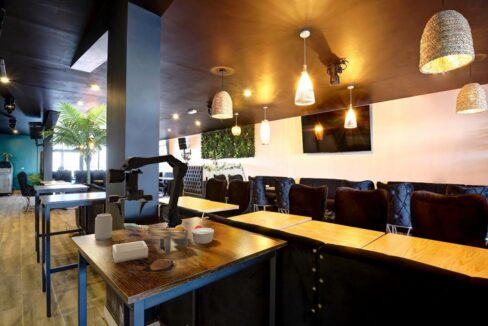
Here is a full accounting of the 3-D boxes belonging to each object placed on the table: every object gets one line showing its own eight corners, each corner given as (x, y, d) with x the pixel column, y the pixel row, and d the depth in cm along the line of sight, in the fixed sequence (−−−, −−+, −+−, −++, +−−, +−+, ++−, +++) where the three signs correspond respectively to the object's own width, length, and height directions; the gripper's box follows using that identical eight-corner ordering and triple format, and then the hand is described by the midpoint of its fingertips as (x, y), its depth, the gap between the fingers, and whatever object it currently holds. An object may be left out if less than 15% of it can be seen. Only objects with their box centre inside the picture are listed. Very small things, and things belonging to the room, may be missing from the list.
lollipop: (210, 233, 135) (210, 211, 135) (192, 234, 131) (193, 212, 131) (207, 230, 140) (208, 209, 140) (191, 231, 137) (191, 210, 137)
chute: (171, 232, 127) (173, 219, 127) (187, 245, 106) (190, 230, 107) (122, 231, 114) (125, 218, 115) (130, 247, 94) (133, 230, 94)
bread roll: (177, 264, 93) (177, 254, 93) (172, 274, 85) (172, 263, 85) (148, 264, 92) (149, 254, 92) (140, 274, 84) (141, 263, 84)
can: (103, 241, 117) (104, 216, 117) (90, 239, 119) (91, 215, 119) (115, 236, 124) (115, 213, 125) (102, 235, 126) (103, 212, 126)
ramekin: (195, 245, 113) (195, 234, 114) (188, 239, 123) (189, 228, 123) (217, 242, 119) (217, 232, 119) (209, 236, 129) (209, 226, 129)
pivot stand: (163, 246, 112) (163, 231, 112) (170, 253, 103) (170, 237, 103) (159, 246, 111) (159, 231, 111) (165, 254, 102) (166, 237, 102)
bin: (143, 249, 107) (143, 240, 107) (147, 257, 98) (148, 247, 98) (112, 254, 100) (112, 245, 100) (114, 263, 92) (115, 252, 92)
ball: (180, 233, 113) (182, 225, 113) (183, 235, 109) (185, 227, 110) (172, 232, 111) (174, 223, 111) (174, 234, 107) (177, 225, 108)
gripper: (110, 184, 102) (109, 221, 102) (156, 184, 112) (154, 217, 112) (108, 183, 112) (107, 216, 111) (150, 182, 122) (149, 213, 121)
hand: (130, 216), depth 114 cm, fingers open, 8 cm apart
